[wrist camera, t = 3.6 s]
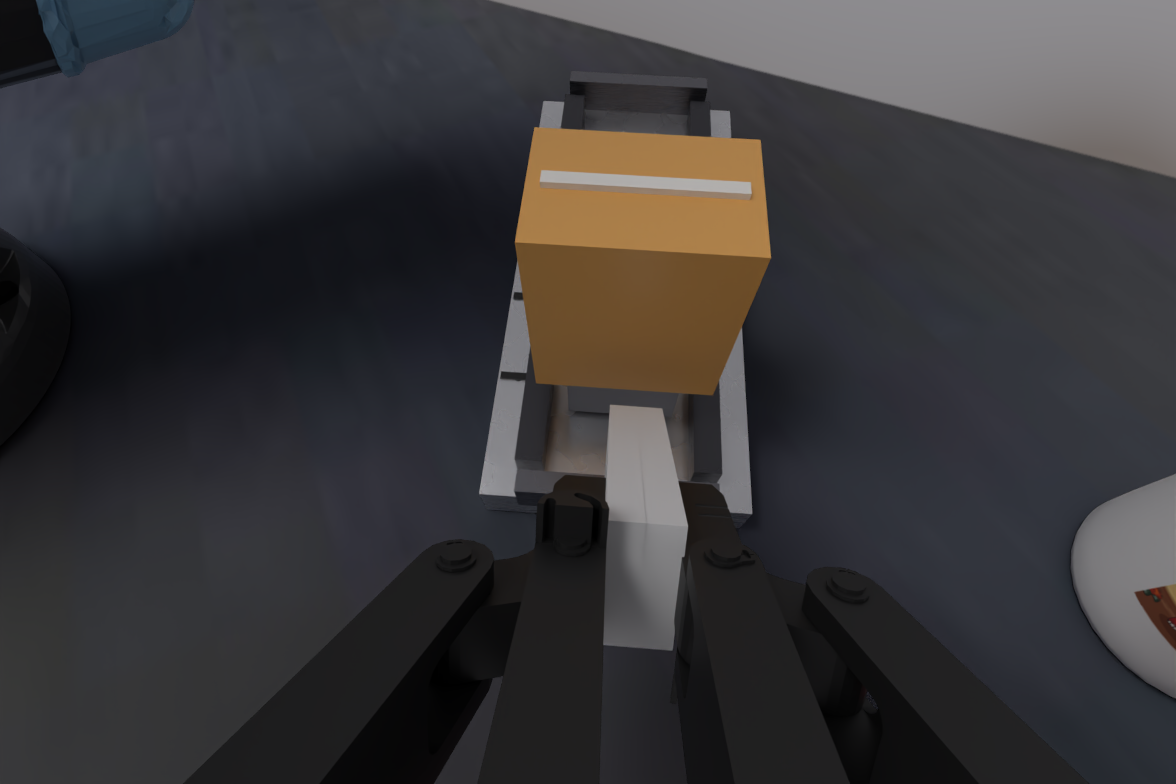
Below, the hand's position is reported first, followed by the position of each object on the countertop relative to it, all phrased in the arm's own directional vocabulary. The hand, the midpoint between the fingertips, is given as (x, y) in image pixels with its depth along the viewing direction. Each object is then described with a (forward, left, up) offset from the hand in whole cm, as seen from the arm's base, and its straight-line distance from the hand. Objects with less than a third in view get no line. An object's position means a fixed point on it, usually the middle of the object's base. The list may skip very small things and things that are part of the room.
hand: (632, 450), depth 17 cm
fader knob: (-2, +5, -5) cm, 7 cm away
